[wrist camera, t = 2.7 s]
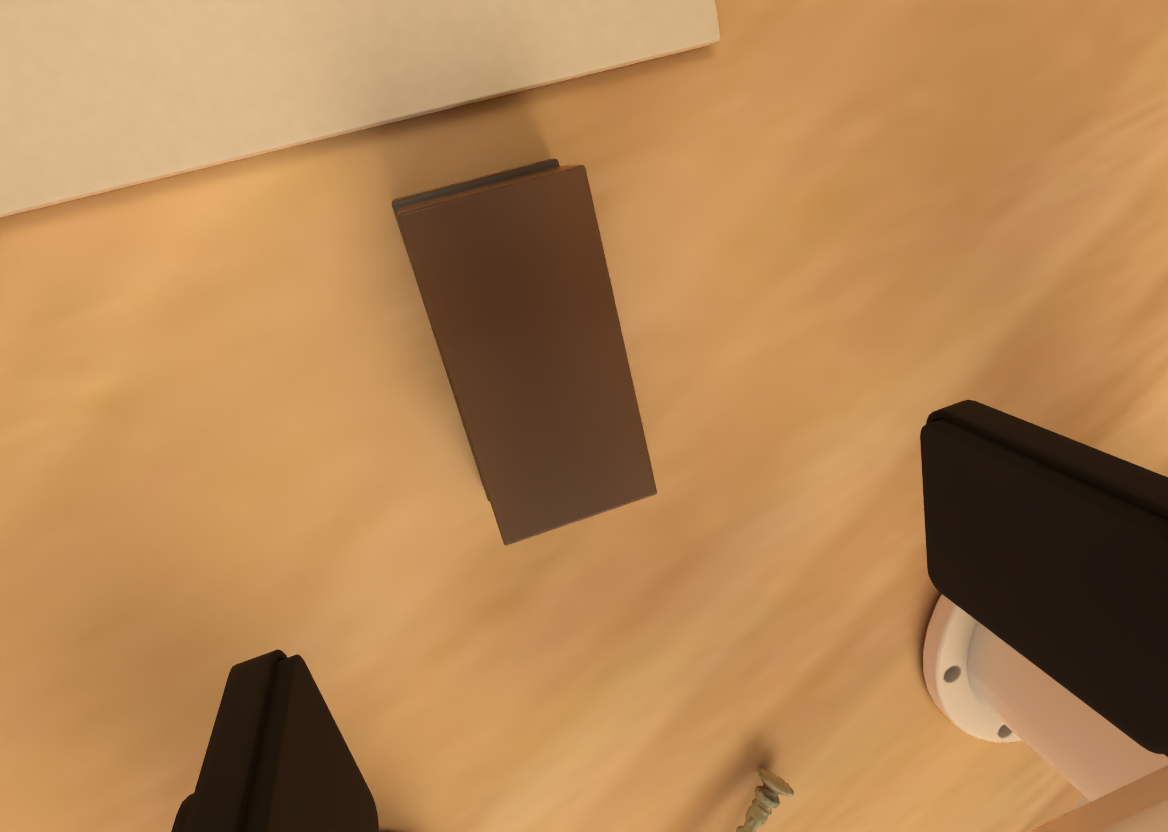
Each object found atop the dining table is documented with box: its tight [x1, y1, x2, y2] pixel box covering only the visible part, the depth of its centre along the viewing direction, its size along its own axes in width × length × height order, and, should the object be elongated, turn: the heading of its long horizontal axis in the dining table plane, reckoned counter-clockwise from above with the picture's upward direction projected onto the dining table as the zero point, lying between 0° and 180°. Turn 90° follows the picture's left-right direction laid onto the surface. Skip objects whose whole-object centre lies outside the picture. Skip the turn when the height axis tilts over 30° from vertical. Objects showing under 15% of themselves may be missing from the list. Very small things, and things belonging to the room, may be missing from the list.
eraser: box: [392, 159, 657, 545], centre depth 21 cm, size 5×10×4 cm, turn 14°
